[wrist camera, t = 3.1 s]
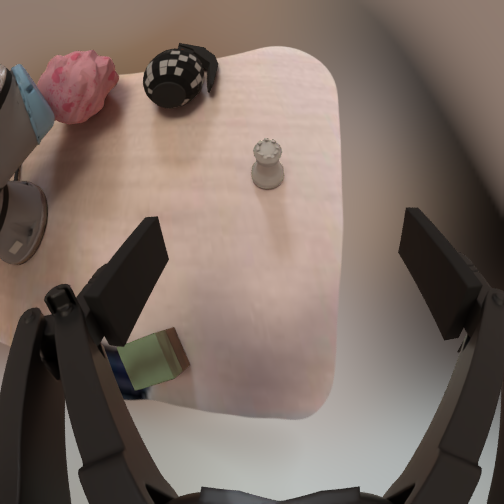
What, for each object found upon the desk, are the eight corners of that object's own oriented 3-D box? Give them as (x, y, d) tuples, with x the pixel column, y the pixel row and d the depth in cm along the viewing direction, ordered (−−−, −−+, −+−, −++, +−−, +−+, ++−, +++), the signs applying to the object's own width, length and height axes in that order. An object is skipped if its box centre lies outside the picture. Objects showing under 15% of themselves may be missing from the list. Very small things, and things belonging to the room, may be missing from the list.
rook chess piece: (252, 160, 40) (249, 129, 32) (284, 162, 39) (288, 132, 31) (249, 189, 39) (245, 163, 31) (283, 191, 39) (286, 166, 31)
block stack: (140, 340, 36) (116, 347, 30) (174, 326, 37) (154, 332, 30) (155, 376, 36) (134, 390, 29) (190, 364, 36) (174, 378, 29)
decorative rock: (51, 34, 30) (125, 34, 38) (45, 97, 41) (111, 94, 49) (26, 69, 22) (128, 65, 31) (28, 150, 33) (113, 144, 41)
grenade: (205, 125, 42) (211, 73, 47) (222, 80, 34) (226, 34, 39) (134, 115, 38) (153, 64, 43) (139, 67, 30) (162, 23, 35)
